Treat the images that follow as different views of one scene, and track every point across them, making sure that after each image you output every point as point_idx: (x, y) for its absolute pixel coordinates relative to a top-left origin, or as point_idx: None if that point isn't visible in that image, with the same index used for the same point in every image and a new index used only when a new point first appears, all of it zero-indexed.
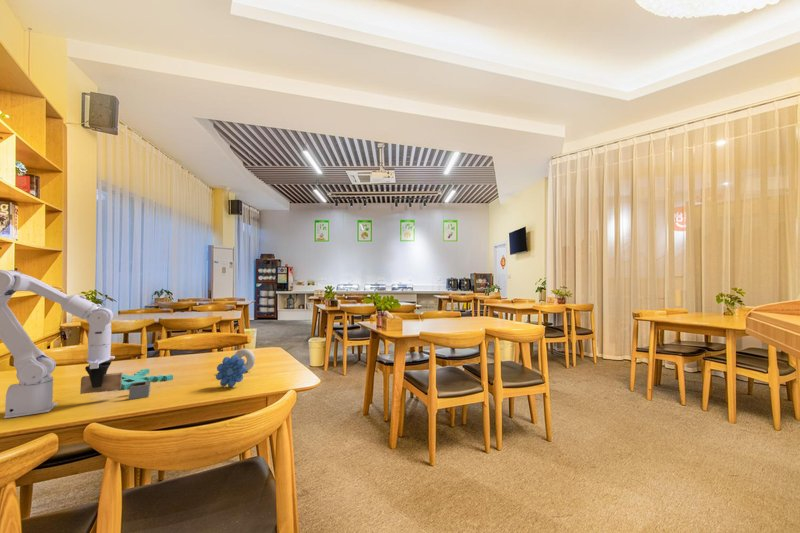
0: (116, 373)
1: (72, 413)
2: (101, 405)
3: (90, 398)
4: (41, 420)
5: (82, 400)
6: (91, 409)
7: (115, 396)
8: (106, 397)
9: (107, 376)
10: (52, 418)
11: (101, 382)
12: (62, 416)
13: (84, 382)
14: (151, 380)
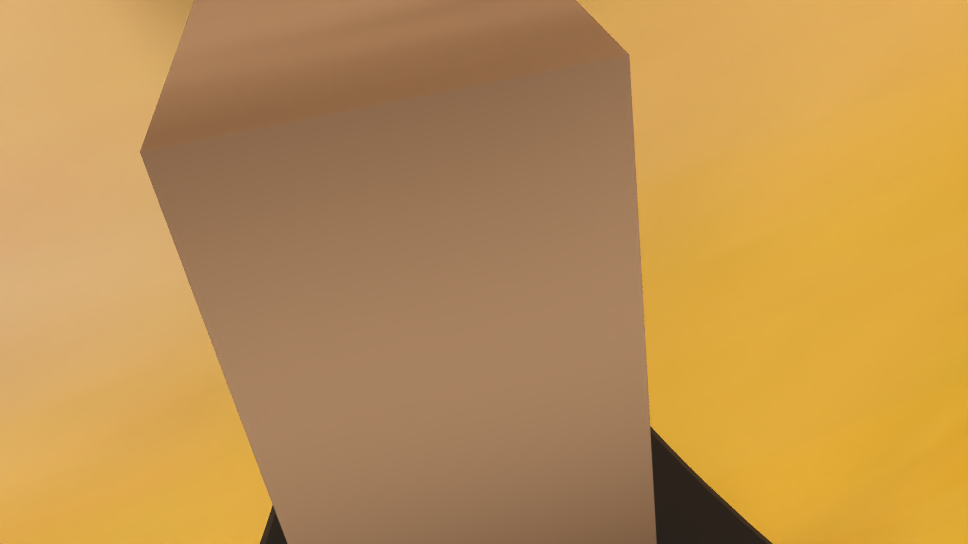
0: (330, 362)
1: (881, 347)
2: (690, 94)
3: (142, 445)
4: (941, 533)
5: (233, 503)
6: (843, 170)
7: (108, 48)
8: (144, 209)
9: (635, 508)
10: (943, 468)
11: (681, 464)
12: (937, 403)
13: None
14: None
